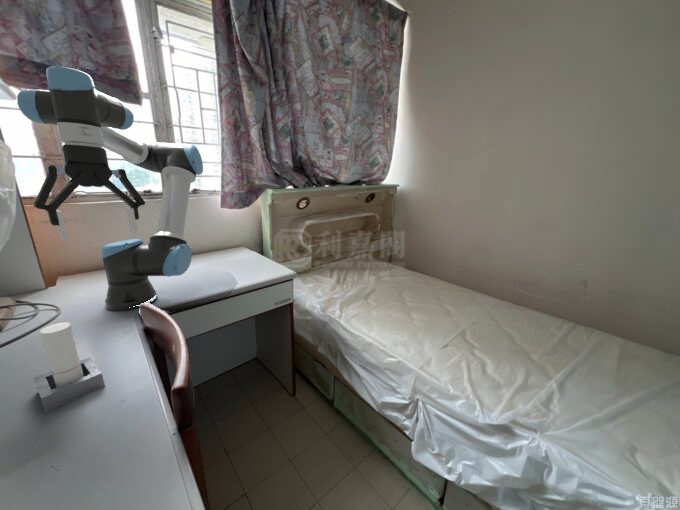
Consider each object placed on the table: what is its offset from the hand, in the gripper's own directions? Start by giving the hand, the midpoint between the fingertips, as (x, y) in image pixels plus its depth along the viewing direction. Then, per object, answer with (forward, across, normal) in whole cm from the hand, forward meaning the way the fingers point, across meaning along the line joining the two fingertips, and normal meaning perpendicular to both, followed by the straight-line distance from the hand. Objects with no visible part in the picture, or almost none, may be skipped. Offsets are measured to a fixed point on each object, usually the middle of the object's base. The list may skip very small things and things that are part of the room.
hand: (101, 235), depth 68 cm
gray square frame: (+31, -13, -13) cm, 36 cm away
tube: (+31, -13, -13) cm, 36 cm away
